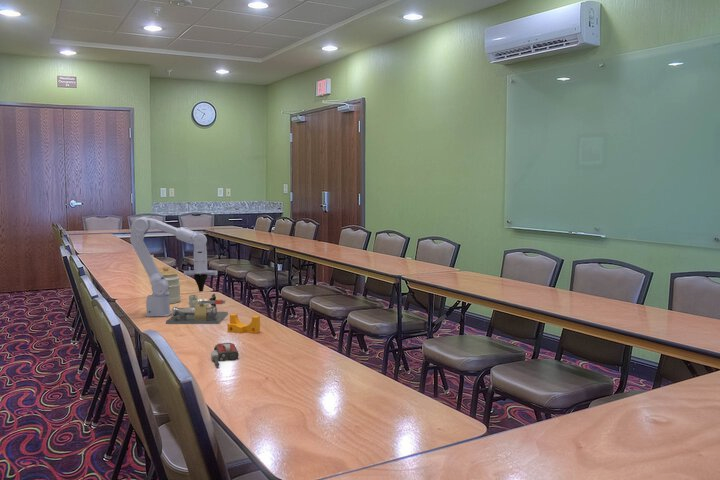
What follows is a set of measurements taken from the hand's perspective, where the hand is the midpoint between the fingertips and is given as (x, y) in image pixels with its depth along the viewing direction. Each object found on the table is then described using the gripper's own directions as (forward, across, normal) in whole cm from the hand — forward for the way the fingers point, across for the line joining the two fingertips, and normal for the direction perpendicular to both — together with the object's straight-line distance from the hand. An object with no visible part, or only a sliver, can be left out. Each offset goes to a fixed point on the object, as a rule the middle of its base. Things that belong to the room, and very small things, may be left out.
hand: (201, 291), depth 265 cm
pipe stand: (+10, +1, -11) cm, 15 cm away
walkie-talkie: (+10, +24, -68) cm, 73 cm away
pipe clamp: (+10, +24, -33) cm, 42 cm away
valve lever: (+4, +8, -12) cm, 15 cm away
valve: (+10, -2, +9) cm, 14 cm away
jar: (+10, -23, +25) cm, 35 cm away
